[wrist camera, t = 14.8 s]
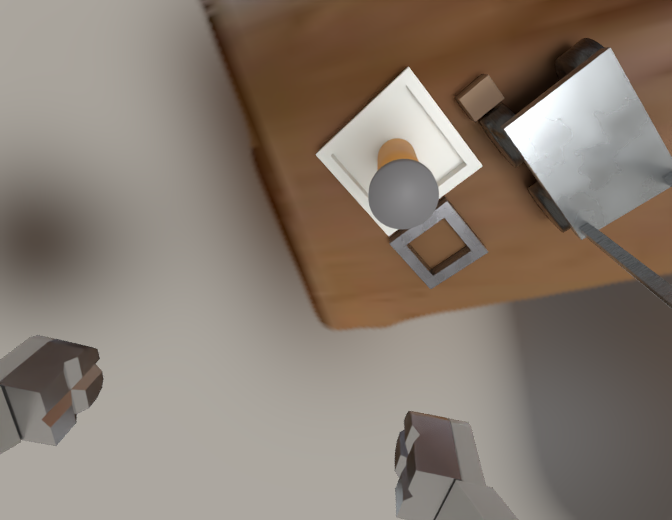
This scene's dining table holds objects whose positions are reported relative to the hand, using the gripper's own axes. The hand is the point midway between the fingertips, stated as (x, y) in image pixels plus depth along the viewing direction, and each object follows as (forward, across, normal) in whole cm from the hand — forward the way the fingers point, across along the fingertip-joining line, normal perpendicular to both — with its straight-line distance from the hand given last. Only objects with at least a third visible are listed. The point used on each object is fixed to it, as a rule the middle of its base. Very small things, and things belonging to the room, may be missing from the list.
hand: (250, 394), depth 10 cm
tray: (+31, +5, +1) cm, 31 cm away
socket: (+31, +11, -8) cm, 34 cm away
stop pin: (+30, +5, 0) cm, 31 cm away
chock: (+31, +10, +7) cm, 34 cm away
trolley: (+31, +19, +5) cm, 37 cm away
